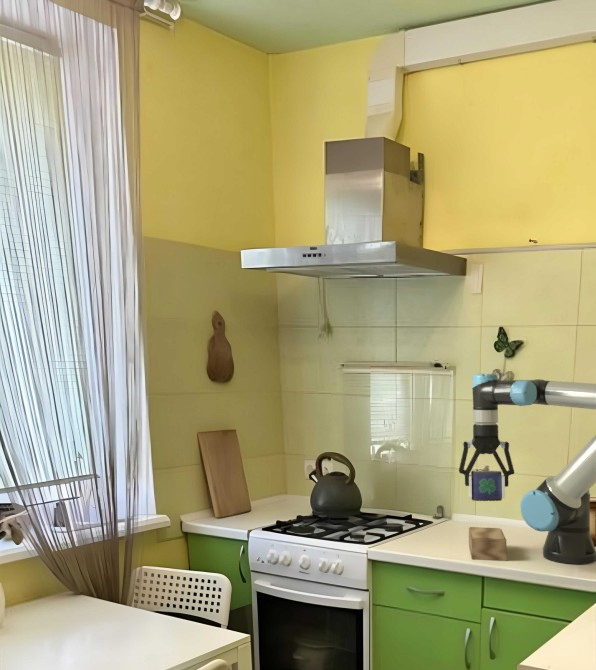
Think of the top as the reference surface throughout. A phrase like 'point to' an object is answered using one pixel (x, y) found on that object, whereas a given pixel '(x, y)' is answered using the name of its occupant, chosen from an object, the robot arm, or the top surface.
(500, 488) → the flask
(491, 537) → the walnut block
